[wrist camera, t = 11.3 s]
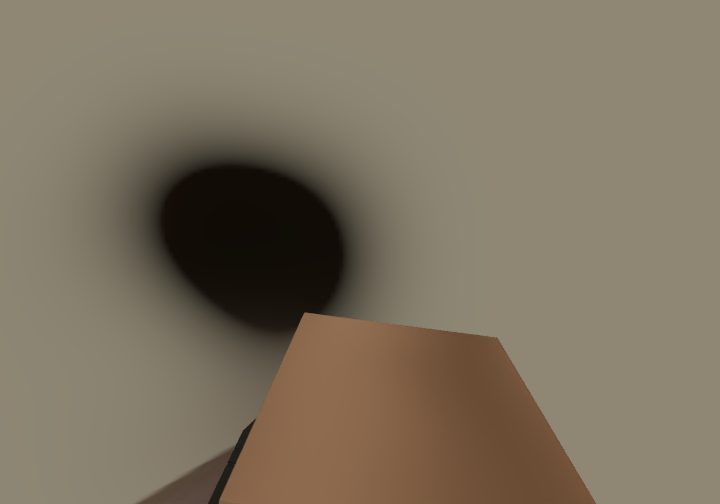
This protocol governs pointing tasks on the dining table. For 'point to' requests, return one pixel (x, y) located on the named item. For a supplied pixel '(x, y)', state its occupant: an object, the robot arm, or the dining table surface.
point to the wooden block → (399, 424)
